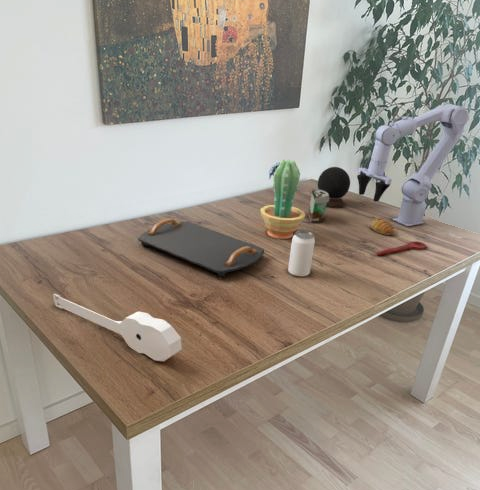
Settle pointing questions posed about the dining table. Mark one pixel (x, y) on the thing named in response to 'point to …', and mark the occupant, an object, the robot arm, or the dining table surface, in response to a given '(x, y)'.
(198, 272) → the dining table surface
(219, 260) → the serving tray
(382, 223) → the pastry
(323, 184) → the black ball on stand
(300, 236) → the can
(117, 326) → the white toy guitar
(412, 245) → the spoon
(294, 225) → the potted cactus
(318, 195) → the food container
